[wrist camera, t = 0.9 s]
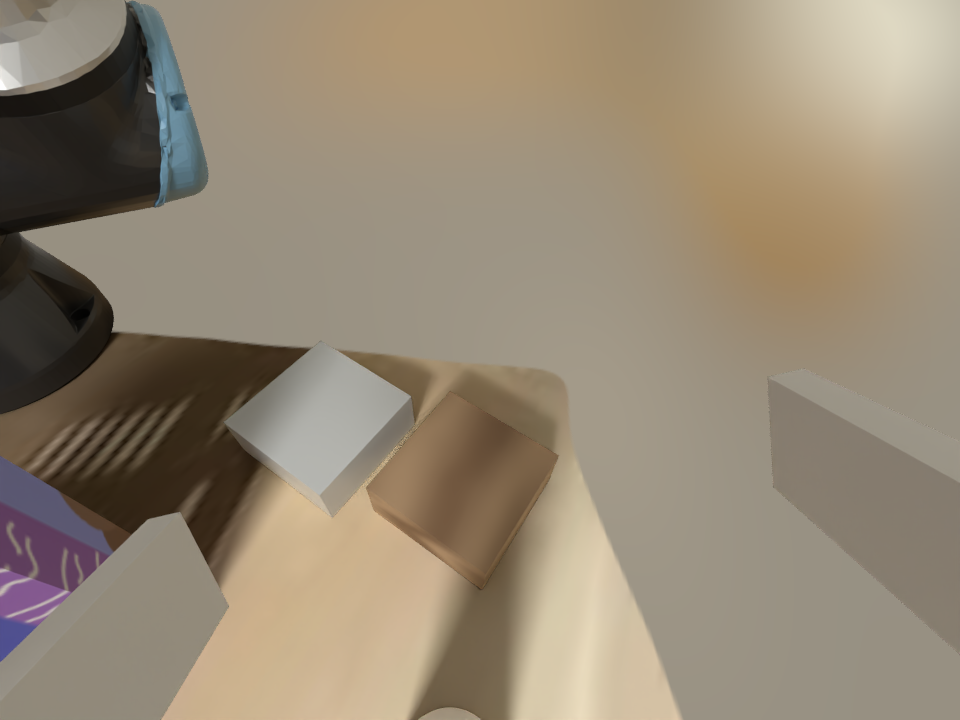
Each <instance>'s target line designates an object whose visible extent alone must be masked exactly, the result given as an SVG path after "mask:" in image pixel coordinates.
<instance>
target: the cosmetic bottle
mask: <svg viewBox="0 0 960 720" xmlns="http://www.w3.org/2000/svg"><path fill="white" fill-rule="evenodd" d="M418 720H481V719H480V718H478V717H477V716H476V715H474V714H473V713H471V712H468V711H466V710H463V709H460V708H454V707H446V708H440V709H436V710H433V711H431V712H429V713H427V714H425V715H424V716H422V717H421V718H419V719H418Z"/></svg>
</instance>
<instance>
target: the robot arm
mask: <svg viewBox="0 0 960 720" xmlns="http://www.w3.org/2000/svg"><path fill="white" fill-rule="evenodd" d="M207 182H208V168H207V163H206V159H205V155H204V151H203V147H202V143H201V140H200V136H199V133H198V129H197V126H196V123H195V119H194V116H193V113H192V110H191V107H190V105H189V102H188V97H187V94H186V90H185V87H184V83H183V79H182V76H181V73H180V69H179V67H178V63H177V60H176V57H175V54H174V51H173V48H172V45H171V42H170V39H169V36H168V33H167V30H166V28H165V25H164V22H163V20H162V17H161V15H160V14H159V12H158V11H157V10H156V9H155V8H154V7H152V6H149V5H146V4H139V3H137V2H135V1H130V2H127V3H126V1H125V0H0V414H2V413H5V412H8V411H11V410H14V409H17V408H20V407H22V406H25V405H27V404H30V403H32V402H34V401H36V400H38V399H40V398H42V397H44V396H46V395H48V394H50V393H51V392H53V391H55V390H57V389H58V388H60V387H61V386H63V385H64V384H66V383H67V382H69V381H70V380H71V379H73V378H74V377H75V376H77V375H78V374H79V373H80V372H82V371H83V370H84V369H85V368H86V367H87V366H88V365H89V364H90V363H91V362H92V361H93V360H94V359H95V358H96V357H97V355H98V354H99V353H100V352H101V350H102V349H103V347H104V346H105V344H106V342H107V341H108V339H109V336H110V334H111V331H112V328H113V322H114V317H113V310H112V307H111V305H110V304H109V302H108V300H107V299H106V298H105V297H104V296H103V294H102V293H101V292H100V290H99V289H98V288H97V287H96V286H95V284H93V283H92V282H91V281H90V280H89V279H88V278H87V277H85V276H84V275H83V274H81V273H79V272H78V271H76V270H75V269H73V268H71V267H70V266H68V265H66V264H65V263H63V262H62V261H60V260H58V259H57V258H55V257H54V256H52V255H50V254H49V253H47V252H46V251H44V250H43V249H41V248H39V247H38V246H36V245H35V244H33V243H31V242H30V241H28V240H26V239H25V238H24V237H23V236H22V235H21V234H20V233H19V232H22V231H27V230H33V229H38V228H43V227H49V226H54V225H59V224H65V223H70V222H75V221H81V220H86V219H92V218H97V217H102V216H108V215H113V214H118V213H124V212H129V211H135V210H140V209H145V208H150V207H160V206H162V205H163V204H164V203H166V202H170V201H173V200H178V199H181V198H185V197H189V196H192V195H195V194H197V193H199V192H201V191H202V190H203V189H204V188H205V186H206V184H207ZM768 396H769V415H770V435H771V453H772V454H771V455H772V474H773V487H774V488H775V489H776V490H777V491H778V492H779V493H781V494H782V495H783V496H784V497H785V498H786V499H787V500H788V501H790V502H791V503H792V504H793V505H794V506H795V507H796V508H797V509H798V510H799V511H800V512H802V513H803V514H804V515H805V516H806V517H807V518H808V519H809V520H810V521H812V522H813V523H814V524H815V525H816V526H817V527H818V528H819V529H821V530H822V531H823V532H824V533H825V534H826V535H827V536H828V537H829V538H831V539H832V540H833V541H834V542H835V543H836V544H837V545H838V546H840V547H841V548H842V549H843V550H844V551H845V552H846V553H847V554H848V555H849V556H851V557H852V558H853V559H854V560H855V561H856V562H857V563H858V564H859V565H861V566H862V567H863V568H864V569H865V570H866V571H867V572H868V573H869V574H871V575H872V576H873V577H874V578H875V579H876V580H877V581H879V582H880V583H881V584H882V585H883V586H884V587H885V588H886V589H887V590H888V591H890V592H891V593H892V594H893V595H894V596H895V597H896V598H897V599H898V600H900V601H901V602H902V603H903V604H904V605H905V606H906V607H907V608H909V609H910V610H911V611H912V612H913V613H914V614H915V615H916V616H917V617H918V618H920V619H921V620H922V621H923V622H924V623H925V624H926V625H927V626H928V627H930V628H931V629H932V630H933V631H934V632H935V633H936V634H937V635H938V636H940V637H941V638H942V639H943V640H944V641H945V642H946V643H948V644H949V645H950V646H951V647H952V648H953V649H954V650H955V651H956V652H958V653H959V654H960V441H958V440H956V439H954V438H952V437H949V436H948V435H946V434H943V433H941V432H939V431H937V430H935V429H933V428H931V427H928V426H926V425H924V424H922V423H920V422H918V421H915V420H913V419H911V418H909V417H907V416H905V415H903V414H900V413H898V412H896V411H894V410H892V409H890V408H887V407H885V406H883V405H881V404H879V403H877V402H875V401H873V400H870V399H868V398H866V397H864V396H862V395H860V394H857V393H855V392H853V391H851V390H849V389H847V388H845V387H843V386H840V385H838V384H836V383H834V382H832V381H830V380H828V379H825V378H823V377H821V376H819V375H817V374H815V373H813V372H810V371H808V370H806V369H800V370H795V371H791V372H786V373H782V374H778V375H774V376H769V377H768ZM228 607H229V605H228V603H227V601H226V599H225V597H224V595H223V593H222V592H221V590H220V588H219V586H218V584H217V582H216V580H215V578H214V576H213V574H212V572H211V570H210V568H209V566H208V565H207V563H206V561H205V559H204V557H203V555H202V553H201V551H200V549H199V547H198V545H197V543H196V541H195V540H194V538H193V536H192V534H191V532H190V530H189V528H188V526H187V524H186V522H185V520H184V518H183V516H182V515H181V513H180V512H177V513H173V514H169V515H164V516H160V517H156V518H151V519H148V520H147V521H146V522H145V523H144V524H142V525H141V526H140V527H139V528H138V529H137V530H136V531H135V532H134V533H133V534H132V535H131V536H130V537H129V538H128V539H127V540H126V541H125V542H124V543H123V544H122V545H121V546H120V547H119V548H118V549H117V550H116V551H115V552H114V553H113V554H112V555H110V556H109V557H108V558H107V559H106V560H105V561H104V562H103V563H102V564H101V565H100V566H99V567H98V568H97V569H96V570H95V571H94V572H93V573H92V574H91V575H90V576H89V577H88V578H87V579H86V580H85V581H84V582H83V583H82V584H81V585H80V586H79V587H77V588H76V589H75V590H74V591H73V592H72V593H71V594H70V595H69V596H68V597H67V598H66V599H65V600H64V601H63V602H62V603H61V604H60V605H59V606H58V607H57V608H56V609H55V610H54V611H53V612H52V613H51V614H50V615H49V616H48V617H47V618H46V619H44V620H43V621H42V622H41V623H40V624H39V625H38V626H37V627H36V628H35V629H34V630H33V631H32V632H31V633H30V634H29V635H28V636H27V637H26V638H25V639H24V640H23V641H22V642H21V643H20V644H19V645H18V646H17V647H16V648H15V649H14V650H13V651H11V652H10V653H9V654H8V655H7V656H6V657H5V658H4V659H3V660H2V661H1V662H0V720H161V719H162V717H163V716H164V714H165V712H166V711H167V709H168V707H169V706H170V704H171V702H172V701H173V699H174V697H175V696H176V694H177V692H178V691H179V689H180V687H181V686H182V684H183V682H184V681H185V679H186V677H187V676H188V674H189V672H190V671H191V669H192V667H193V666H194V664H195V662H196V661H197V659H198V657H199V656H200V654H201V652H202V651H203V649H204V647H205V646H206V644H207V642H208V641H209V639H210V637H211V636H212V634H213V632H214V631H215V629H216V627H217V626H218V624H219V622H220V621H221V619H222V617H223V616H224V614H225V612H226V611H227V609H228Z"/></svg>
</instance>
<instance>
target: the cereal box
mask: <svg viewBox="0 0 960 720" xmlns="http://www.w3.org/2000/svg"><path fill="white" fill-rule="evenodd" d="M131 535H132V534H130V533H128V532H127V531H125V530H123V529H122V528H120V527H118V526H117V525H115V524H113V523H112V522H110V521H108V520H107V519H105V518H103V517H102V516H100V515H98V514H97V513H95V512H93V511H92V510H90V509H88V508H87V507H85V506H83V505H82V504H80V503H78V502H77V501H75V500H73V499H71V498H70V497H68V496H66V495H65V494H63V493H61V492H60V491H58V490H56V489H55V488H53V487H51V486H50V485H48V484H46V483H45V482H43V481H41V480H40V479H38V478H36V477H35V476H33V475H31V474H30V473H28V472H26V471H25V470H23V469H21V468H20V467H18V466H16V465H14V464H13V463H11V462H9V461H8V460H6V459H4V458H3V457H1V456H0V662H1V661H2V660H3V659H4V658H5V657H6V656H7V655H8V654H9V653H10V652H11V651H13V650H14V649H15V648H16V647H17V646H18V645H19V644H20V643H21V642H22V641H23V640H24V639H25V638H26V637H27V636H28V635H29V634H30V633H31V632H32V631H33V630H34V629H35V628H36V627H37V626H38V625H39V624H40V623H41V622H42V621H43V620H44V619H46V618H47V617H48V616H49V615H50V614H51V613H52V612H53V611H54V610H55V609H56V608H57V607H58V606H59V605H60V604H61V603H62V602H63V601H64V600H65V599H66V598H67V597H68V596H69V595H70V594H71V593H72V592H73V591H74V590H75V589H76V588H77V587H79V586H80V585H81V584H82V583H83V582H84V581H85V580H86V579H87V578H88V577H89V576H90V575H91V574H92V573H93V572H94V571H95V570H96V569H97V568H98V567H99V566H100V565H101V564H102V563H103V562H104V561H105V560H106V559H107V558H108V557H109V556H110V555H112V554H113V553H114V552H115V551H116V550H117V549H118V548H119V547H120V546H121V545H122V544H123V543H124V542H125V541H126V540H127V539H128V538H129V537H130V536H131Z"/></svg>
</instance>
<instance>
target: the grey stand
mask: <svg viewBox="0 0 960 720" xmlns="http://www.w3.org/2000/svg"><path fill="white" fill-rule="evenodd" d="M223 423H224V424H225V425H226V426H227V428H228V429H229V430H230V432H231V433H232V434H233V436H234V437H235V438H236V440H237V441H238V442H239V444H240V445H241V446H242V448H243V449H244V450H245V451H246V452H248V453H249V454H250V455H251V456H253V457H254V458H255V459H257V460H258V461H259V462H261V463H262V464H263V465H264V466H266V467H267V468H268V469H270V470H271V471H272V472H274V473H275V474H276V475H277V476H279V477H280V478H281V479H283V480H284V481H285V482H286V483H288V484H289V485H290V486H292V487H293V488H294V489H296V490H297V491H298V492H299V493H301V494H302V495H303V496H305V497H306V498H307V499H309V500H310V501H311V502H312V503H314V504H315V505H316V506H318V507H319V508H320V509H321V510H323V511H324V512H325V513H327V514H328V515H329V516H331V517H332V518H333V517H334V516H335V515H336V513H337V512H338V511H339V510H340V509H341V508H342V507H343V505H344V504H345V503H346V502H347V501H348V500H349V499H350V497H351V496H352V495H353V494H354V493H355V492H356V491H357V490H358V488H359V487H360V486H361V485H362V484H363V483H364V482H365V480H366V479H367V478H368V477H369V476H370V475H371V474H372V473H373V471H374V470H375V469H376V468H377V467H378V466H379V465H380V463H381V462H382V461H383V460H384V459H385V458H386V457H387V455H388V454H389V453H390V452H391V451H392V450H393V449H394V448H395V446H396V445H397V444H398V443H399V442H400V441H401V440H402V438H403V437H404V436H405V435H406V434H407V433H408V432H409V431H410V429H411V428H412V427H413V426H414V425H415V422H414V414H413V406H412V398H411V396H410V395H408V394H407V393H405V392H403V391H402V390H400V389H398V388H397V387H395V386H394V385H392V384H390V383H389V382H387V381H386V380H384V379H382V378H381V377H379V376H377V375H376V374H374V373H373V372H371V371H369V370H368V369H366V368H364V367H363V366H361V365H360V364H358V363H356V362H355V361H353V360H352V359H350V358H348V357H347V356H345V355H343V354H342V353H340V352H339V351H337V350H335V349H334V348H332V347H330V346H329V345H327V344H326V343H324V342H322V341H320V342H319V343H318V344H316V345H315V346H314V347H313V348H312V349H310V350H309V351H308V352H307V353H306V354H304V355H303V356H302V357H301V358H300V359H298V360H297V361H296V362H295V363H294V364H292V365H291V366H290V367H289V368H288V369H286V370H285V371H284V372H283V373H282V374H281V375H279V376H278V377H277V378H276V379H275V380H273V381H272V382H271V383H270V384H269V385H267V386H266V387H265V388H264V389H263V390H261V391H260V392H259V393H258V394H257V395H255V396H254V397H253V398H252V399H251V400H249V401H248V402H247V403H246V404H245V405H244V406H242V407H241V408H240V409H239V410H238V411H236V412H235V413H234V414H233V415H232V416H230V417H229V418H228V419H227V420H226V421H224V422H223Z"/></svg>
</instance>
